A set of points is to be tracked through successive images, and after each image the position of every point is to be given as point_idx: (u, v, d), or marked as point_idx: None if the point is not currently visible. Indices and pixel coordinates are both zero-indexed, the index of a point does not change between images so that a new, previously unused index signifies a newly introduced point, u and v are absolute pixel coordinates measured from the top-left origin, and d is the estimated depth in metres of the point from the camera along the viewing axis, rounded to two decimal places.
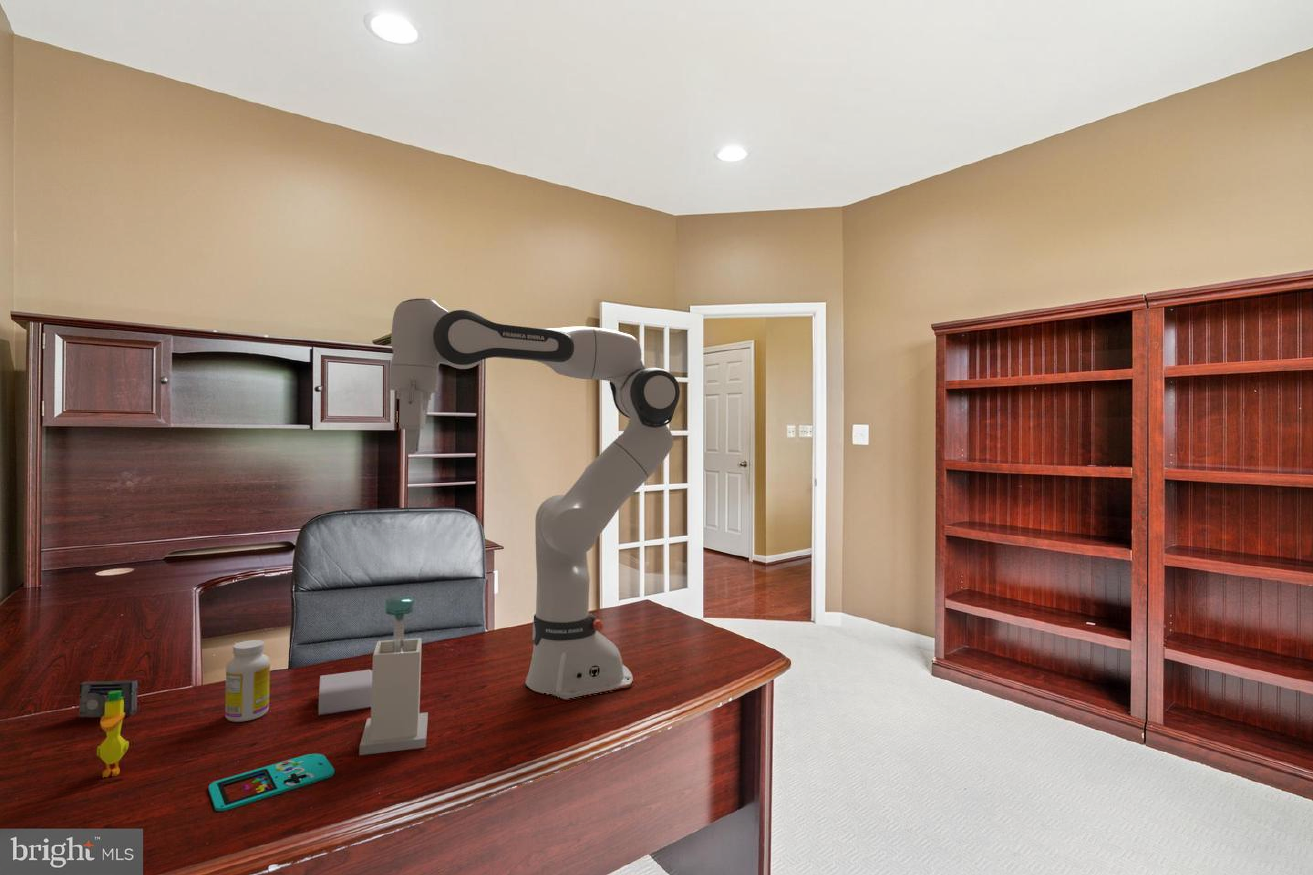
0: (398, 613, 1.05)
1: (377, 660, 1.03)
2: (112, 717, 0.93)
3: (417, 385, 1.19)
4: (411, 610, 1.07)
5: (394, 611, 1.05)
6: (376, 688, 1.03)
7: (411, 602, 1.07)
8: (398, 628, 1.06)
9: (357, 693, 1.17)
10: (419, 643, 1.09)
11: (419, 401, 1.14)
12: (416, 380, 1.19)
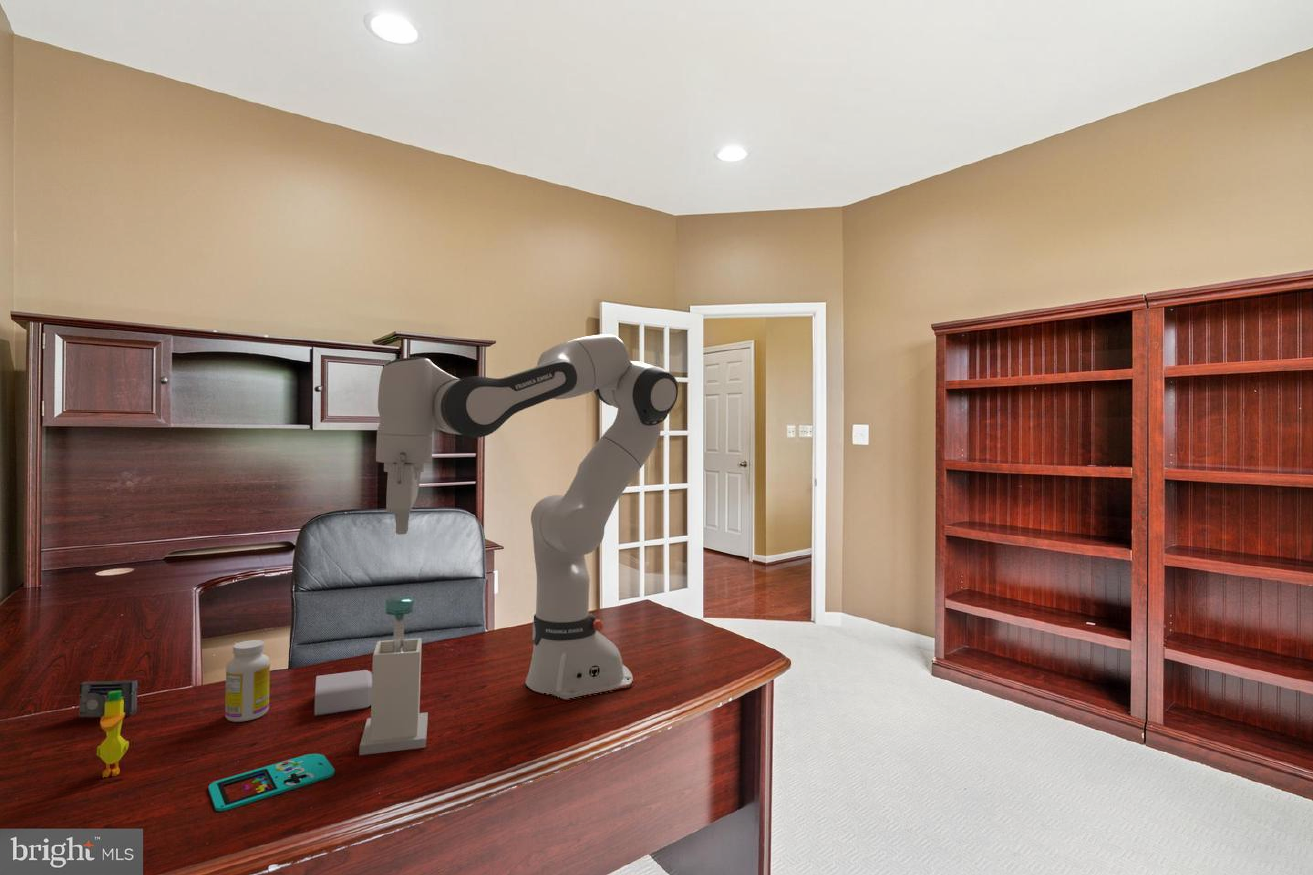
0: (398, 613, 1.05)
1: (377, 660, 1.03)
2: (112, 717, 0.93)
3: (407, 458, 1.03)
4: (411, 610, 1.07)
5: (394, 611, 1.05)
6: (376, 688, 1.03)
7: (411, 602, 1.07)
8: (398, 628, 1.06)
9: (353, 694, 1.16)
10: (419, 643, 1.09)
11: (409, 480, 0.98)
12: (406, 452, 1.03)
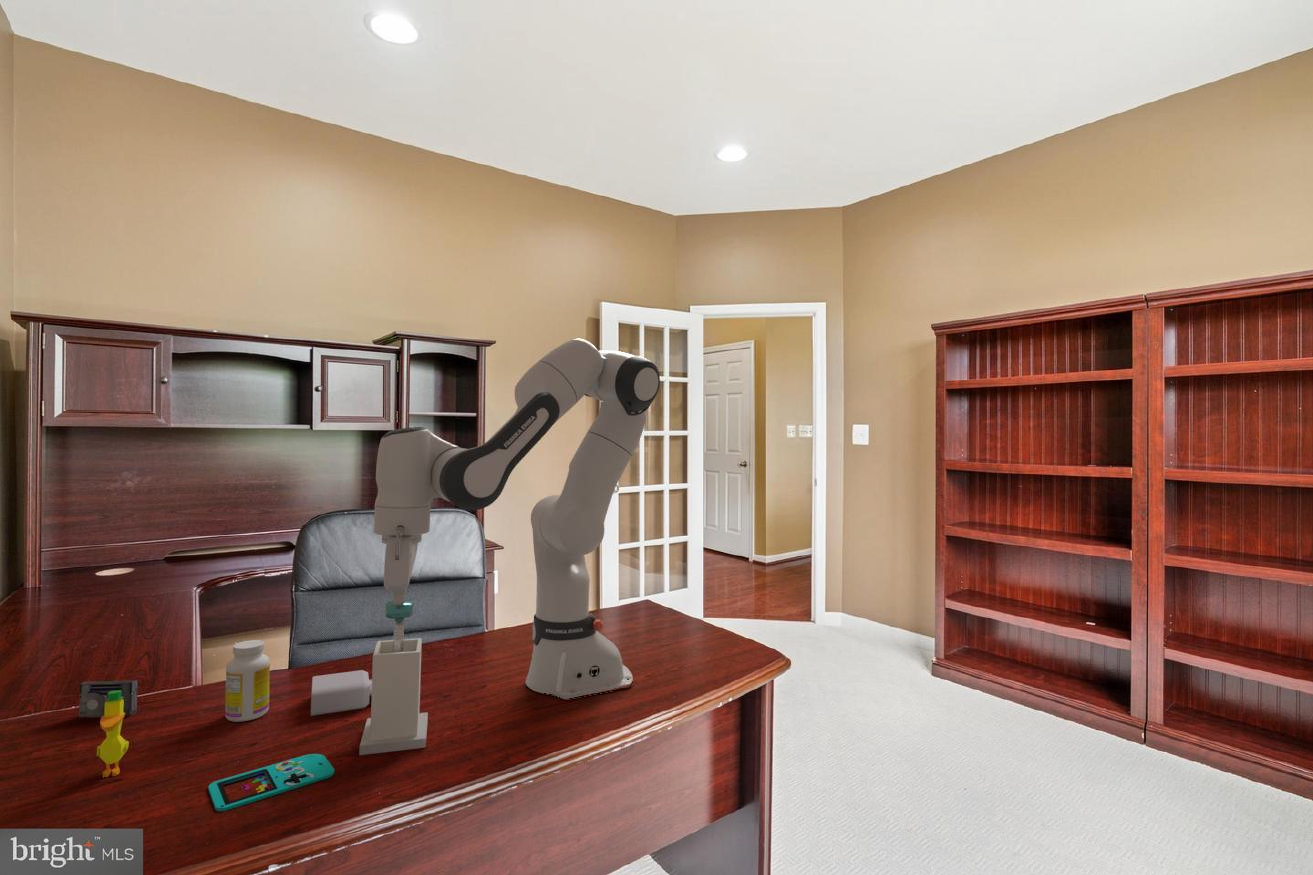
0: (398, 617, 1.05)
1: (377, 660, 1.03)
2: (112, 717, 0.93)
3: (405, 530, 1.03)
4: (411, 614, 1.07)
5: (394, 615, 1.05)
6: (376, 688, 1.03)
7: (411, 606, 1.07)
8: (398, 631, 1.06)
9: (349, 694, 1.16)
10: (419, 643, 1.09)
11: (407, 556, 0.99)
12: (404, 525, 1.03)
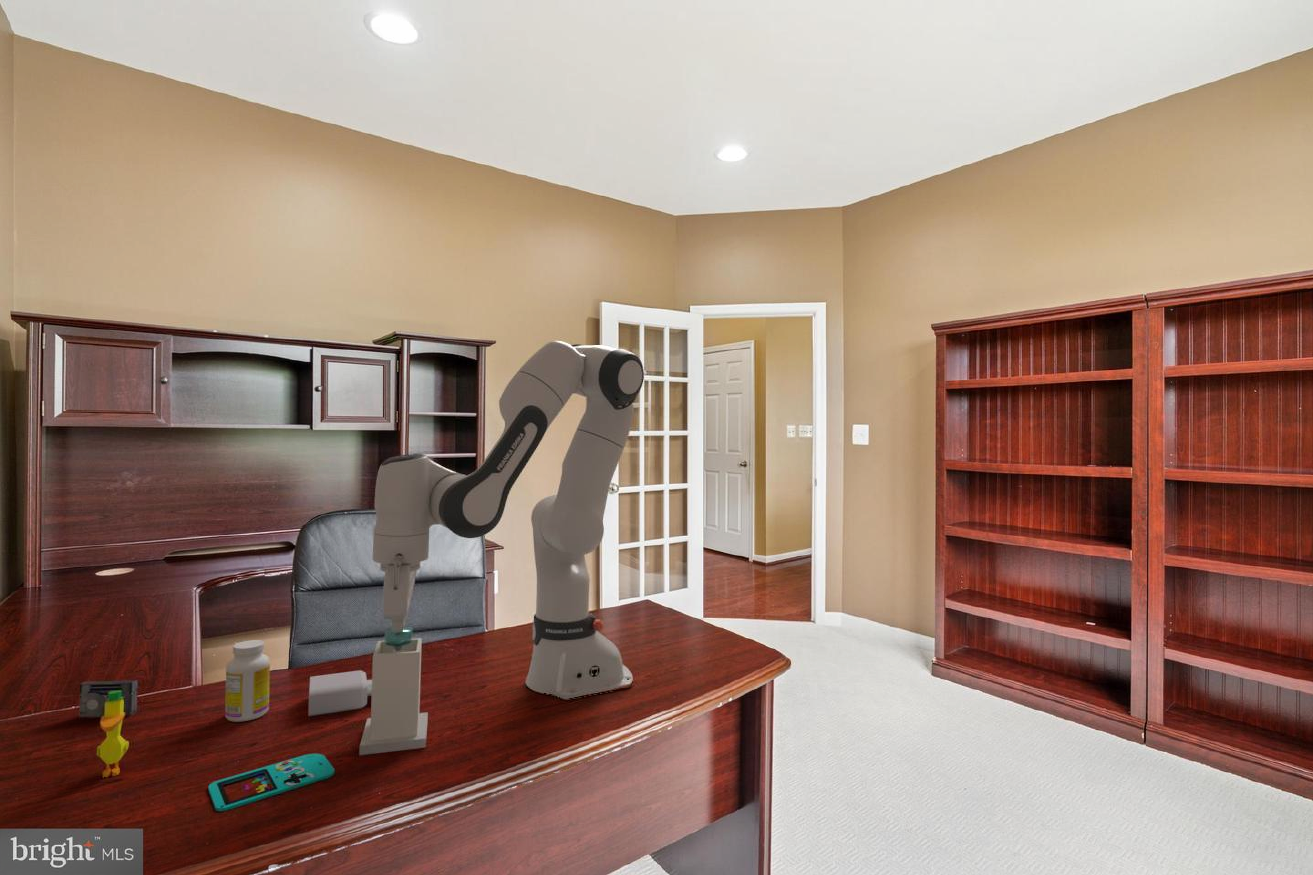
0: (397, 644, 1.05)
1: (377, 660, 1.03)
2: (112, 717, 0.93)
3: (404, 558, 1.03)
4: (410, 640, 1.07)
5: (393, 642, 1.05)
6: (376, 688, 1.03)
7: (410, 632, 1.07)
8: None
9: (347, 694, 1.16)
10: (419, 643, 1.09)
11: (406, 585, 0.99)
12: (403, 553, 1.03)
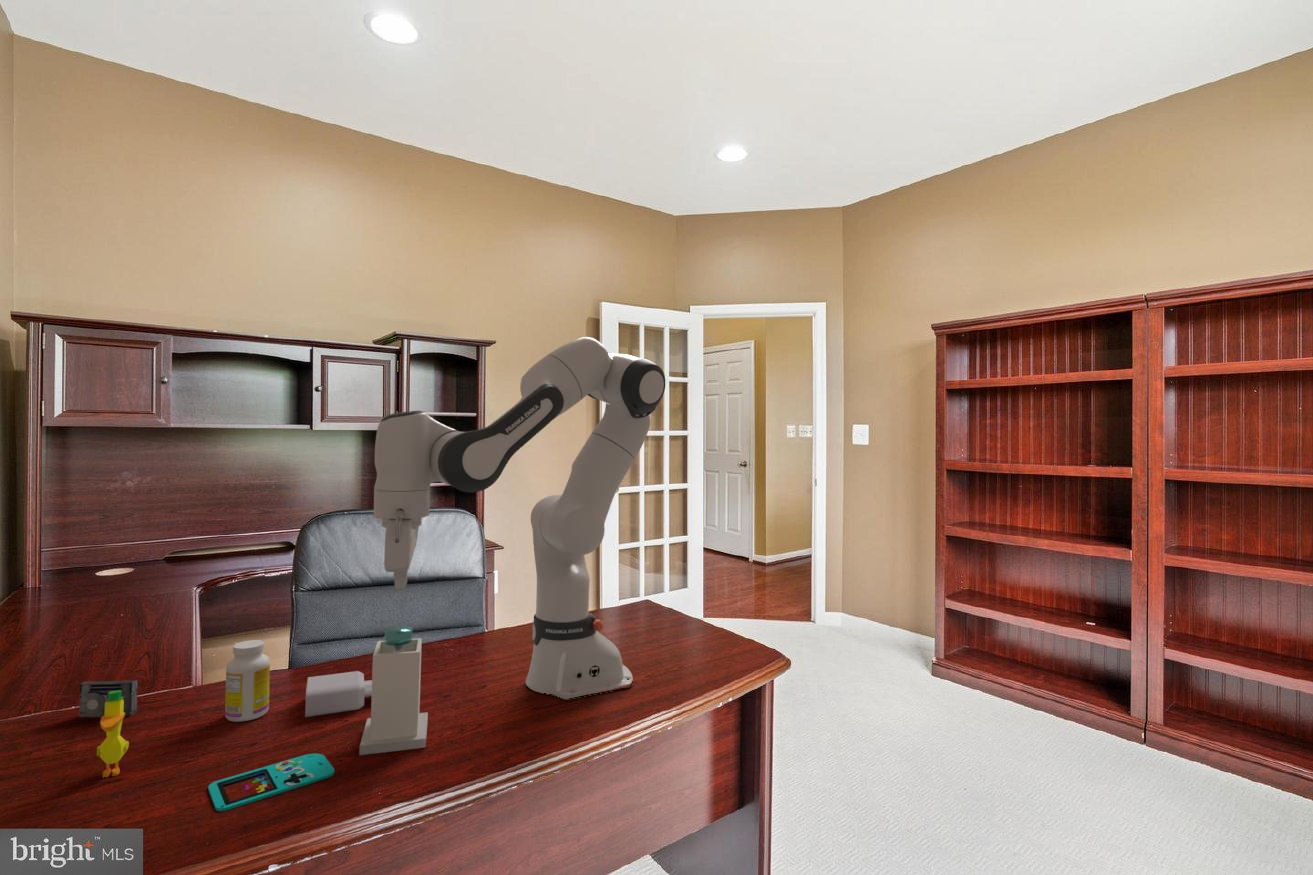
0: (397, 644, 1.05)
1: (377, 660, 1.03)
2: (112, 717, 0.93)
3: (405, 514, 1.03)
4: (410, 640, 1.07)
5: (393, 642, 1.05)
6: (376, 688, 1.03)
7: (410, 632, 1.07)
8: None
9: (344, 695, 1.16)
10: (419, 643, 1.09)
11: (407, 538, 0.98)
12: (404, 508, 1.03)
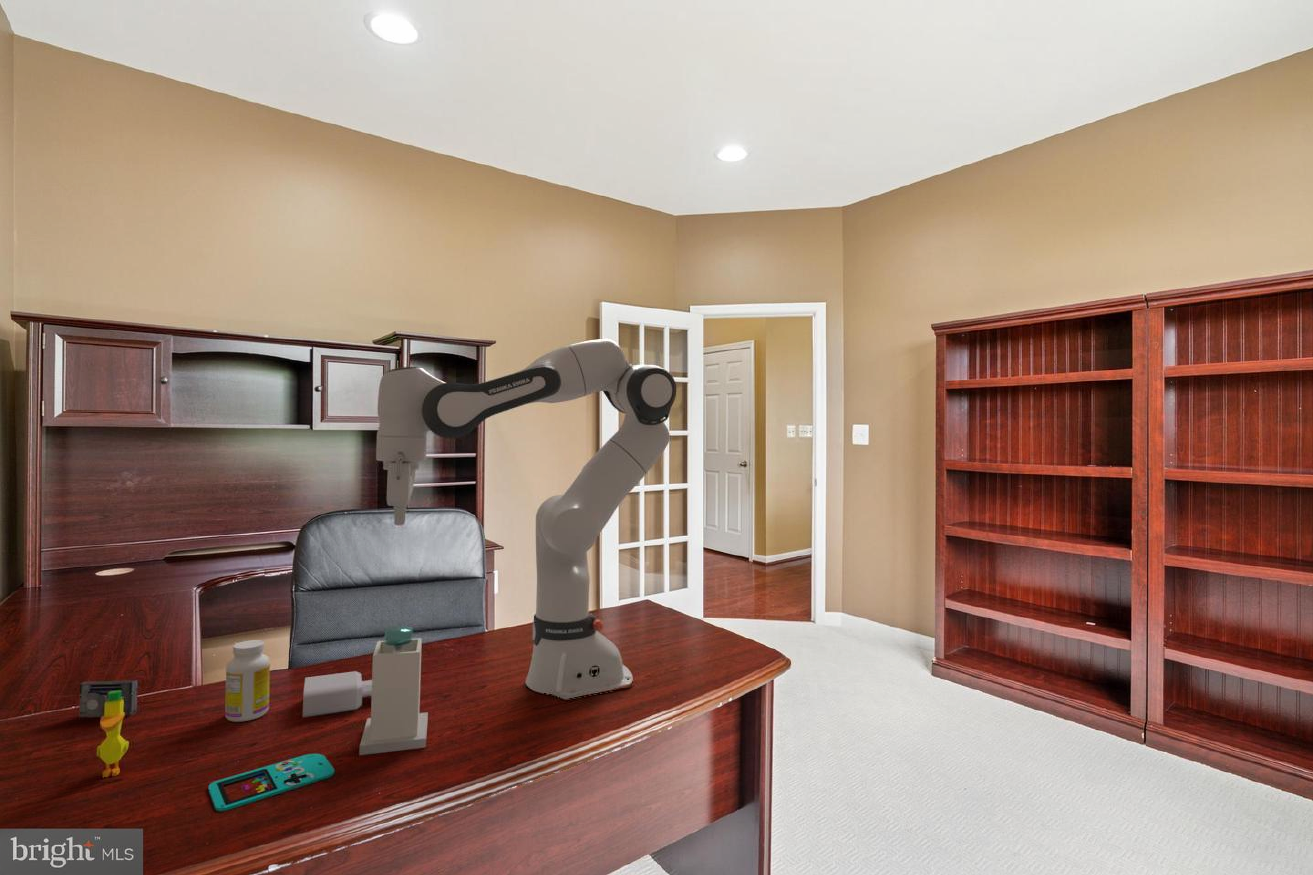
0: (397, 644, 1.05)
1: (377, 660, 1.03)
2: (112, 717, 0.93)
3: (405, 457, 1.16)
4: (410, 640, 1.07)
5: (393, 642, 1.05)
6: (376, 688, 1.03)
7: (410, 632, 1.07)
8: None
9: (341, 695, 1.15)
10: (419, 643, 1.09)
11: (407, 476, 1.11)
12: (404, 452, 1.16)
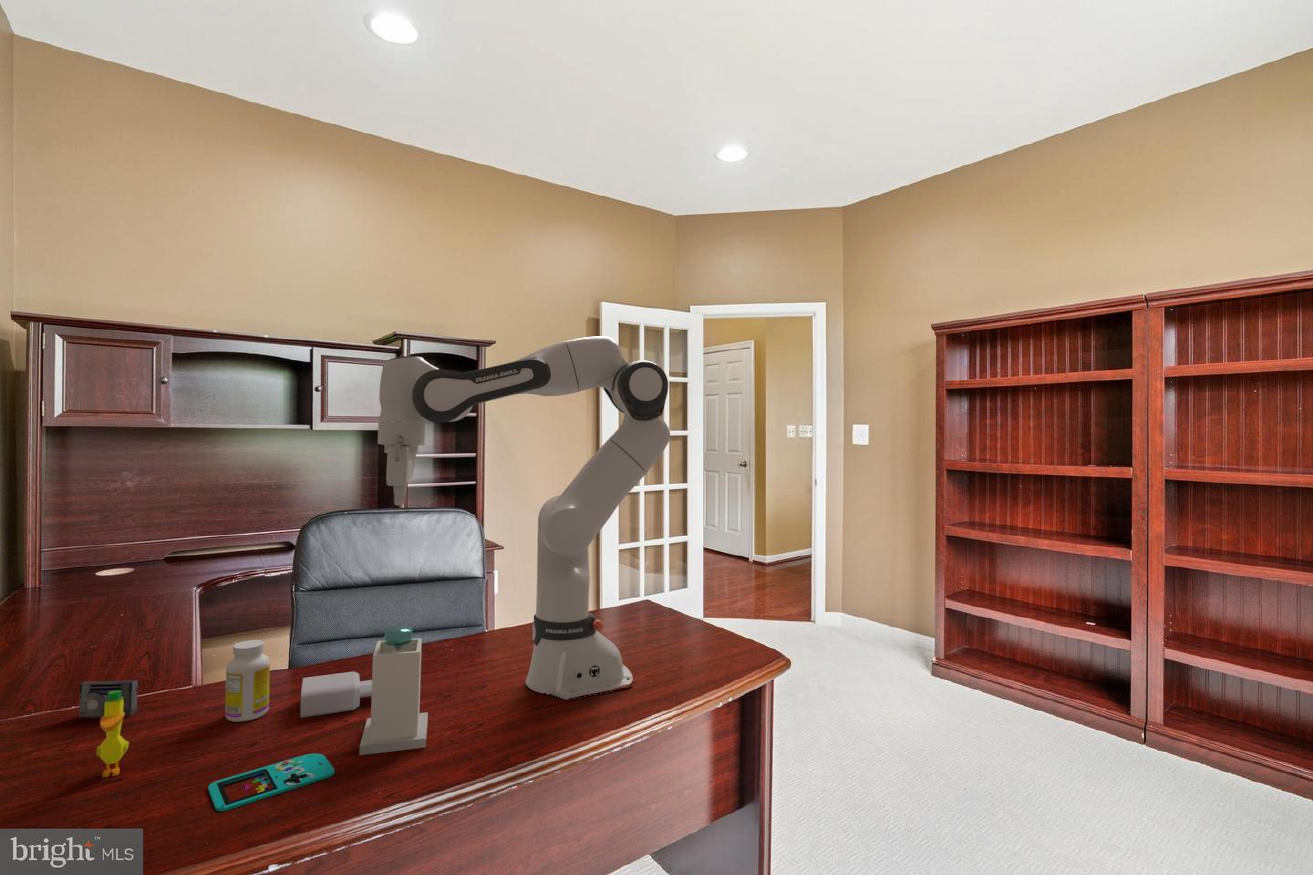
0: (397, 644, 1.05)
1: (377, 660, 1.03)
2: (112, 717, 0.93)
3: (404, 441, 1.23)
4: (410, 640, 1.07)
5: (393, 642, 1.05)
6: (376, 688, 1.03)
7: (410, 632, 1.07)
8: None
9: (339, 696, 1.15)
10: (419, 643, 1.09)
11: (405, 458, 1.19)
12: (403, 436, 1.23)
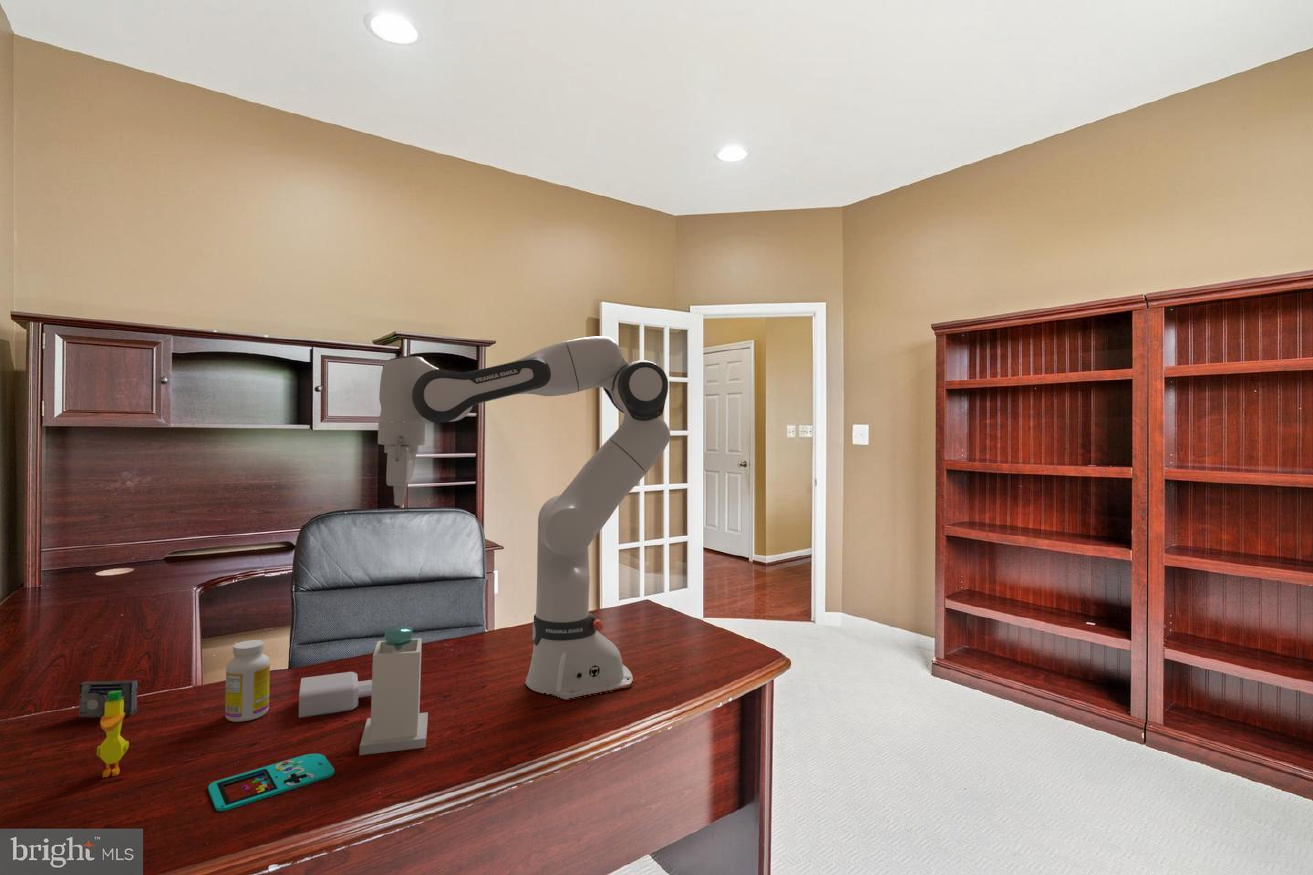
0: (397, 644, 1.05)
1: (377, 660, 1.03)
2: (112, 717, 0.93)
3: (404, 441, 1.23)
4: (410, 640, 1.07)
5: (393, 642, 1.05)
6: (376, 688, 1.03)
7: (410, 632, 1.07)
8: None
9: (338, 696, 1.15)
10: (419, 643, 1.09)
11: (405, 458, 1.19)
12: (403, 436, 1.23)
